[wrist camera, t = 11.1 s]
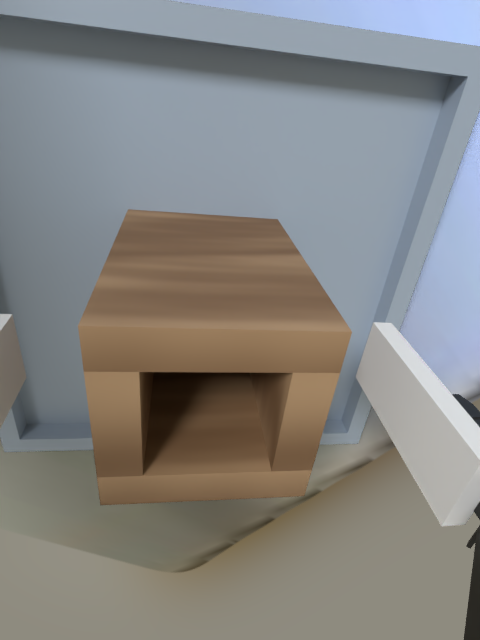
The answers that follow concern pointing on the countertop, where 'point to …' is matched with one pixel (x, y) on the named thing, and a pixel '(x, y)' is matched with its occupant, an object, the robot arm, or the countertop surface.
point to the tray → (214, 166)
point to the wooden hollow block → (207, 360)
